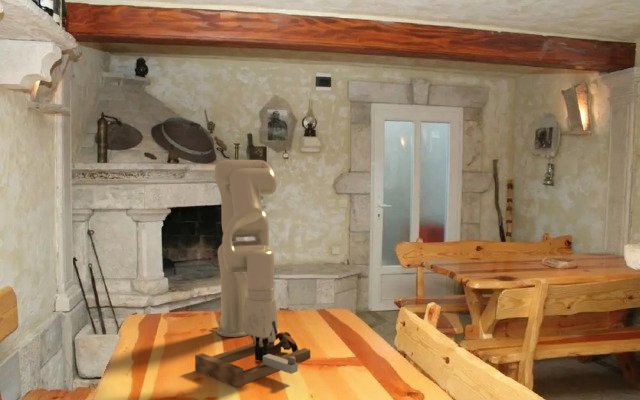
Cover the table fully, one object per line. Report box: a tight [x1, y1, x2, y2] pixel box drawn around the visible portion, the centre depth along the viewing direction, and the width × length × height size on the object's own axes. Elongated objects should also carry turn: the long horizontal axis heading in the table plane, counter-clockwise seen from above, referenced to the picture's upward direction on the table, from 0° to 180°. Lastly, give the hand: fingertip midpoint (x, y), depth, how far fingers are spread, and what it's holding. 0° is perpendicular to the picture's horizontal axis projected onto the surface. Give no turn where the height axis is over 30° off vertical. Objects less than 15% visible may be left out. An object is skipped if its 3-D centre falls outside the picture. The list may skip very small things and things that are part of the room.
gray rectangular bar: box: [262, 354, 299, 375], centre depth 143 cm, size 11×2×4 cm, turn 49°
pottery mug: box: [267, 331, 299, 356], centre depth 160 cm, size 12×10×8 cm
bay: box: [194, 341, 311, 388], centre depth 153 cm, size 18×28×4 cm, turn 139°
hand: (261, 359), depth 147 cm, fingers closed
